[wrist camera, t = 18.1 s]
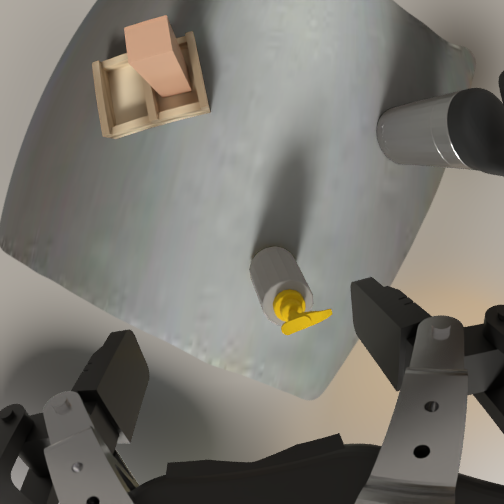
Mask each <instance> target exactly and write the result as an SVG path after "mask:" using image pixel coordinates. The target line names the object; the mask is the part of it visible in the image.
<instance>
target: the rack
mask: <svg viewBox="0 0 504 504" xmlns="http://www.w3.org/2000/svg"><path fill="white" fill-rule="evenodd" d="M185 35H186V36H183V37H179V38H176V39H177V42H178V44H179V47H180V49H181V52H182V54H183V57H184V59H185V62H186V64H187V68H188V73H189V79H190V84H191V89H192V91H190V92H185V93H181V94H177V95H173V96H169V97H166V98H162V97H161V96H160V95H159V94H158V93H157V92H156V91H155V89H154V88H153V87H152V86H151V85H150V84H149V83H148V82H147V81H146V80H145V79H144V78H143V77H142V76H141V75H140V74H139V73H138V72H137V71H136V70H135V69H134V68H133V67H132V66H131V65H130V64H129V63H128V56H127V53H125V54H122V55H119V56H117V57H114V58H111V59H109V60H106V61H103V62H100V61H99V60H98V61H96V62H93V63H92V68H93V76H94V84H95V91H96V98H97V105H98V111H99V117H100V123H101V129H102V134H103V137H108V138H113V139H117V138H120V137H123V136H126V135H129V134H133V133H136V132H139V131H142V130H146V129H149V128H152V127H156V126H159V125H163V124H166V123H170V122H174V121H178V120H181V119H185V118H189V117H193V116H197V115H202V114H206V113H210V108H209V103H208V98H207V94H206V89H205V84H204V79H203V75H202V70H201V65H200V60H199V56H198V51H197V46H196V42H195V38H194V34H193V31H191V32H187V33H185Z"/></svg>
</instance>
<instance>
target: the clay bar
mask: <svg viewBox="0 0 504 504" xmlns="http://www.w3.org/2000/svg"><path fill="white" fill-rule="evenodd" d="M124 30H125V40H126V48H127V56H128V63H129V64H130V65H131V66H132V67H133V68H134V69H135V70H136V71H137V72H138V73H139V74H140V75H141V76H142V77H143V78H144V79H145V80H146V81H147V82H148V83H149V84H150V85H151V86H152V87H153V88H154V89H155V91H156V92H157V93H158V94H159V95H160V96H161V97H162V98H166V97H169V96H173V95H177V94H181V93H185V92H190V91H192V89H191V84H190V79H189V73H188V68H187V64H186V62H185V59H184V57H183V54H182V52H181V49H180V47H179V44H178V42H177V39H176V37H175V34H174V32H173V29H172V27H171V25H170V22H169V20H168V17H167V15H165V16H162V17H158V18H154V19H151V20H147V21H144V22H141V23H137V24H134V25H131V26H128V27H125V28H124Z"/></svg>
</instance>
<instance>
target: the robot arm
mask: <svg viewBox="0 0 504 504" xmlns="http://www.w3.org/2000/svg"><path fill="white" fill-rule="evenodd" d="M499 88H500V93H501V97H502V101H503V103H502V102H501V101H500V100H499V99H498V98H497V97H496V96H495V95H494V94H493V93H491V92H489V91H487V90H485V89H481V88H471V89H466V90H462V91H457V92H453V93H448V94H444V95H440V96H436V97H432V98H428V99H424V100H420V101H416V102H412V103H409V104H405V105H401V106H398V107H394V108H391V109H389V110H387V111H385V112H384V113H383V114H382V116H381V117H380V119H379V122H378V125H377V139H378V142H379V145H380V147H381V150H382V151H383V152H384V154H385V155H386V156H387V157H388V158H389V159H390V160H392V161H393V162H395V163H398V164H404V165H419V166H434V167H447V168H459V169H469V170H470V169H471V170H479V171H482V172H485V173H488V174H493V175H500V176H504V71H503V72H502V73H501V74H500V76H499ZM351 299H352V312H353V324H354V328H355V331H356V334H357V336H358V338H359V339H360V340H361V342H362V343H363V344H364V346H365V347H366V349H367V350H368V351H369V353H370V354H371V356H372V357H373V358H374V360H375V361H376V362H377V364H378V365H379V367H380V368H381V369H382V371H383V373H384V374H385V375H386V377H387V378H388V379H389V381H390V382H391V384H392V385H393V387H394V388H395V390H396V391H399V390H400V392H399V396H398V399H397V403H396V406H395V409H394V412H393V415H392V419H391V421H390V425H389V427H388V431H387V433H386V436H385V439H384V442H383V444H382V446H378V445H372V444H343V441H342V439H341V436H340V434H339V433H338V434H335V435H332V436H328V437H325V438H322V439H317V440H313V441H310V442H306V443H301V444H297V445H295V446H293V447H290V448H288V449H286V450H283V451H281V452H278V453H276V454H274V455H271V456H269V457H266V458H264V459H261V460H259V461H255V462H247V463H246V462H229V461H216V460H200V461H188V462H175V463H174V462H173V463H168V464H167V471H166V475H163V476H160V477H157V478H154V479H152V480H150V481H148V482H145V483H144V484H142V485H139V484H138V482H137V481H136V479H135V478H134V476H133V475H132V474H131V472H130V470H129V469H128V468H127V466H126V464H125V463H124V461H123V459H122V458H121V456H120V455H119V453H118V452H117V450H116V449H115V447H116V444H117V443H131V439H132V436H133V432H134V428H135V425H136V421H137V418H138V414H139V411H140V408H141V404H142V401H143V397H144V394H145V391H146V388H147V385H148V381H149V370H148V366H147V363H146V361H145V358H144V356H143V354H142V352H141V349H140V347H139V345H138V342H137V340H136V337H135V335H134V334H133V332H132V331H131V330H123V331H117V332H112V333H110V335H109V336H108V338H107V340H106V341H105V343H104V345H103V346H102V347H101V348H100V349H99V350H97V351H96V352H95V353H94V354H93V355H92V357H91V358H90V360H89V361H88V365H86V366H85V368H84V372H82V373H81V375H80V376H79V378H78V380H77V382H76V383H75V385H74V387H73V389H72V390H71V391H66V392H62V393H59V394H57V395H55V396H54V397H52V398H51V399H50V400H49V401H48V402H47V403H46V405H45V406H44V408H43V413H39V414H35V415H31V416H29V415H28V413H27V412H26V410H25V409H24V407H23V406H22V405H20V404H12V405H9V406H7V407H5V408H4V409H2V410H1V411H0V504H58V503H60V504H504V485H500V484H496V483H492V482H488V481H484V480H481V479H477V478H474V477H470V476H466V475H463V474H460V473H458V472H459V466H460V460H461V454H462V447H463V439H464V431H465V421H466V409H467V395H471V394H473V395H474V396H475V398H476V399H477V400H478V401H479V403H480V404H481V405H482V406H483V408H484V409H485V410H486V412H487V413H488V414H489V415H490V417H491V418H492V419H493V421H494V422H495V423H496V424H497V426H498V427H499V428H500V430H501V431H502V432H503V434H504V305H497V306H493V307H491V308H489V309H488V310H487V311H486V313H485V319H484V324H479V325H474V326H468V327H463V325H462V323H461V322H460V321H459V320H457V319H455V318H453V317H449V316H433V317H432V316H430V315H429V314H428V313H427V312H426V311H425V310H423V309H422V308H421V307H420V306H418V305H417V304H416V303H413V301H412V300H411V299H410V298H407V296H406V295H405V294H404V293H402V292H401V291H400V290H398V289H395V288H392V287H389V286H386V287H383V286H382V285H381V284H380V283H378V282H377V281H376V280H375V279H374V278H372V277H369V278H365V279H362V280H358V281H354V282H352V283H351ZM18 456H19V457H20V458H21V459H22V460H23V462H24V463H25V464H26V465H27V466H28V467H29V470H28V472H27V475H26V477H25V480H24V482H23V485H22V487H21V490H20V491H19V490H18V489H17V488H16V487H15V486H14V484H13V483H12V480H11V470H12V468H13V466H14V463H15V461H16V459H17V457H18Z"/></svg>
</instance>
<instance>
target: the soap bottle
mask: <svg viewBox="0 0 504 504" xmlns="http://www.w3.org/2000/svg"><path fill="white" fill-rule="evenodd" d="M249 270H250V276H251V280H252V283H253V285H254V288H255V291H256V293H257V296H258V299H259V301H260V304H261V307H262V310H263V312H264V314H265V315H266V317H267V318H268V320H269V321H271V322H273V323H274V324H276V325H280V326H282V327H281V330H282V332H283V333H284V334H285V335H290V334H292V333H295V332H297V331H300V330H302V329H305V328H307V327H309V326H312V325H314V324H317V323H319V322H321V321H323V320H325V319H326V318H328V317H329V316H331V315H332V311H331V309H327V310H323V311H311V309H312V306H313V294H312V292H311V290H310V288H309V286H308V284H307V282H306V280H305V278H304V276H303V274H302V272H301V270H300V268H299V266H298V264H297V262H296V261H295V259H294V257H293V255H292V254H291V253H290V252H288V251H287V250H286V249H284V248H280V247H276V246H274V247H268V248H265V249H263V250H261V251H260V252H258V253H257V254H256V255H255V257H254V258H253V259H252V261H251V265H250V269H249Z"/></svg>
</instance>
